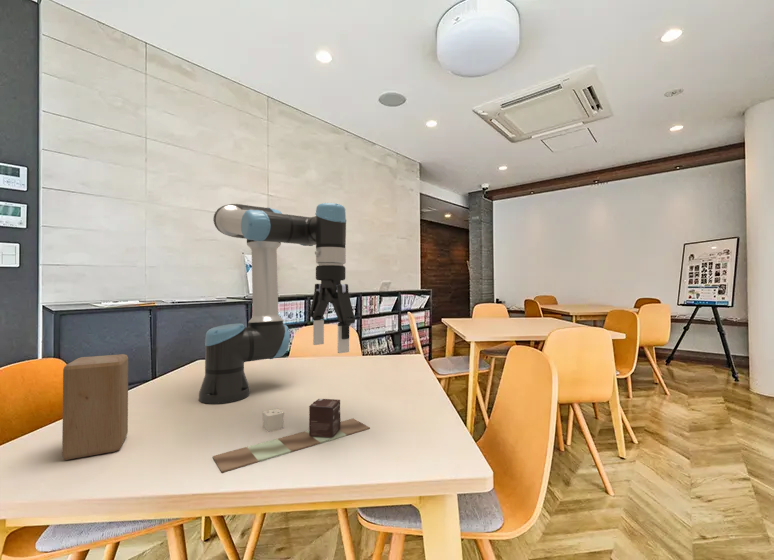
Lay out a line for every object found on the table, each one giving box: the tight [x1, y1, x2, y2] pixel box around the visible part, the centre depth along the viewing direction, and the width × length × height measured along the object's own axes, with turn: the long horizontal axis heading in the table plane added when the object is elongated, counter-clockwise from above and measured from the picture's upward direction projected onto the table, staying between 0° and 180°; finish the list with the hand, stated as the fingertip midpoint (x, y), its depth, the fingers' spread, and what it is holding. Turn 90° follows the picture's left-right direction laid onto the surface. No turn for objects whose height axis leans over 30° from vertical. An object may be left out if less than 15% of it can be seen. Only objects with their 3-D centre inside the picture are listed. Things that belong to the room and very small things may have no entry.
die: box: [262, 408, 285, 433], centre depth 92 cm, size 4×4×4 cm
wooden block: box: [61, 353, 129, 460], centre depth 81 cm, size 10×10×20 cm
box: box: [308, 398, 341, 438], centre depth 88 cm, size 6×6×7 cm
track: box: [212, 417, 371, 474], centre depth 83 cm, size 8×35×1 cm, turn 128°
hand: (330, 348), depth 91 cm, fingers open, 13 cm apart
